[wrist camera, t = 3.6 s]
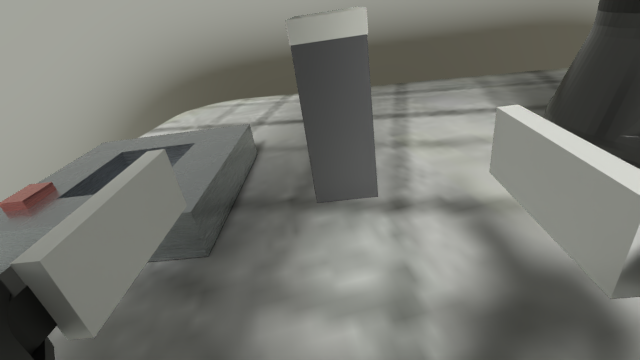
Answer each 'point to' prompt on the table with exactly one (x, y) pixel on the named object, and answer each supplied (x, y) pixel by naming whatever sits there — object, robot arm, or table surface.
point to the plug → (336, 101)
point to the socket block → (113, 158)
